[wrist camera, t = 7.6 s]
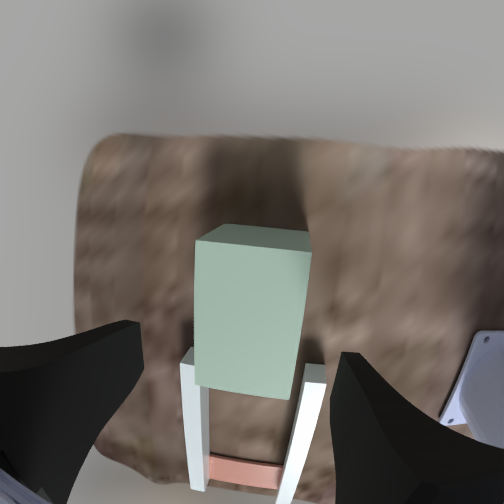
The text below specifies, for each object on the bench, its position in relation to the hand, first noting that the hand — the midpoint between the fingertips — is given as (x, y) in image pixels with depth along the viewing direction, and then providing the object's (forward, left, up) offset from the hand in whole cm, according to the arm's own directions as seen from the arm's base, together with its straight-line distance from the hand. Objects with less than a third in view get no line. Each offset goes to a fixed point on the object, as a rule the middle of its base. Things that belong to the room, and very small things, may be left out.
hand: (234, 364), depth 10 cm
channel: (0, +11, -7) cm, 14 cm away
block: (0, 0, -8) cm, 8 cm away
